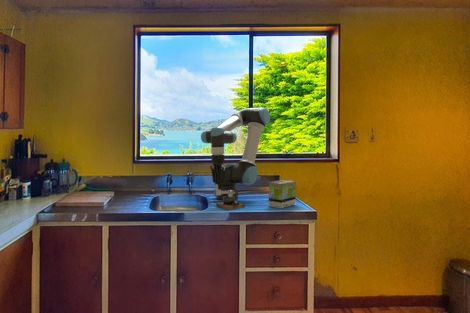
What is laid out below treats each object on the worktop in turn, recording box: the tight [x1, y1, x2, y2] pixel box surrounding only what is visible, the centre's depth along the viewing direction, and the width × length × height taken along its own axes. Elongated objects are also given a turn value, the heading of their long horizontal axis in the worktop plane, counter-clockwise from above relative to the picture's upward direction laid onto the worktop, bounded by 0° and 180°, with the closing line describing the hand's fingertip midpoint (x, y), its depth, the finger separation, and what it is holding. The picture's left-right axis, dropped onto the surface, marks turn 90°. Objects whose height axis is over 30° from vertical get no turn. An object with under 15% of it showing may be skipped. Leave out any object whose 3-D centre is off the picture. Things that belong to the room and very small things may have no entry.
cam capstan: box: [214, 188, 236, 204], centre depth 206 cm, size 12×7×8 cm, turn 102°
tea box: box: [268, 179, 297, 209], centre depth 210 cm, size 15×10×15 cm
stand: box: [215, 200, 246, 211], centre depth 207 cm, size 12×12×4 cm
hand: (218, 194), depth 203 cm, fingers closed
